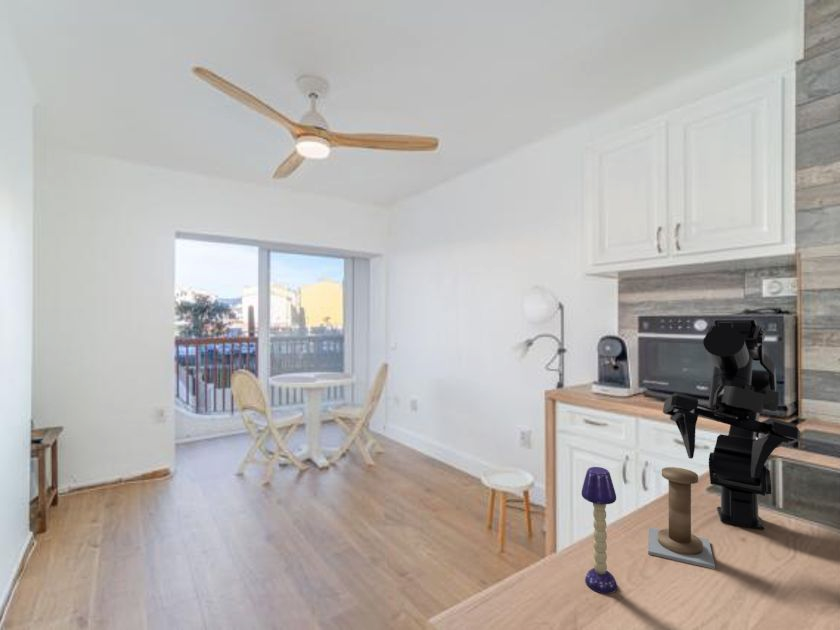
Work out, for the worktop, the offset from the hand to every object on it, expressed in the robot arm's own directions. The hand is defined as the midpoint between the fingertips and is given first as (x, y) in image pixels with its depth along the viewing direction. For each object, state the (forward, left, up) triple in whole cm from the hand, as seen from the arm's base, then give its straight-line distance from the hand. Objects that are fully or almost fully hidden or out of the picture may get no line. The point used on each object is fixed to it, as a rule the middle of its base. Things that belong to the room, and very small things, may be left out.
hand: (721, 467), depth 72 cm
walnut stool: (+3, -6, -13) cm, 15 cm away
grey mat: (+3, -6, -13) cm, 15 cm away
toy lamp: (+20, -17, -14) cm, 30 cm away
